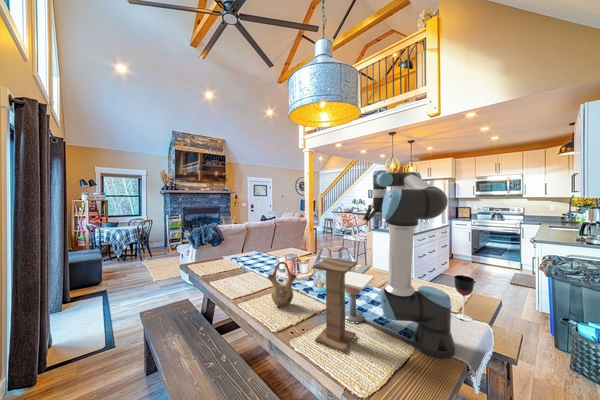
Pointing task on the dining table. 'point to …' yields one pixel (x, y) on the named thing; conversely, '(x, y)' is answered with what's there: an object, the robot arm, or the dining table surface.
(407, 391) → the dining table surface
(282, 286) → the ceramic vessel
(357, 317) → the brown goblet
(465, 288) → the wineglass
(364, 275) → the lid
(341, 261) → the stand
